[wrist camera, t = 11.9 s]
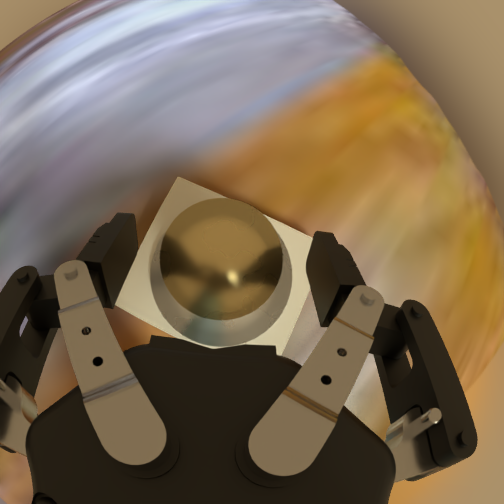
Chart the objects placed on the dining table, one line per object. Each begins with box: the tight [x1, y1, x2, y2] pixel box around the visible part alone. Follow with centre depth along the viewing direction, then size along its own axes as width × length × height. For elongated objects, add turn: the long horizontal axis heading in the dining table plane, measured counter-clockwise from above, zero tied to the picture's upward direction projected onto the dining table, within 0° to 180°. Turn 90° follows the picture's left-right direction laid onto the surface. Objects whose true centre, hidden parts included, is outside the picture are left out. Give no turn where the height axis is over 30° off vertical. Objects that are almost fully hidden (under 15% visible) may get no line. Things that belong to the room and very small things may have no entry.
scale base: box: [115, 177, 313, 356], centre depth 23 cm, size 14×12×3 cm
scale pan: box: [150, 232, 292, 347], centre depth 21 cm, size 11×11×1 cm
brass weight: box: [160, 198, 283, 320], centre depth 16 cm, size 5×5×10 cm
